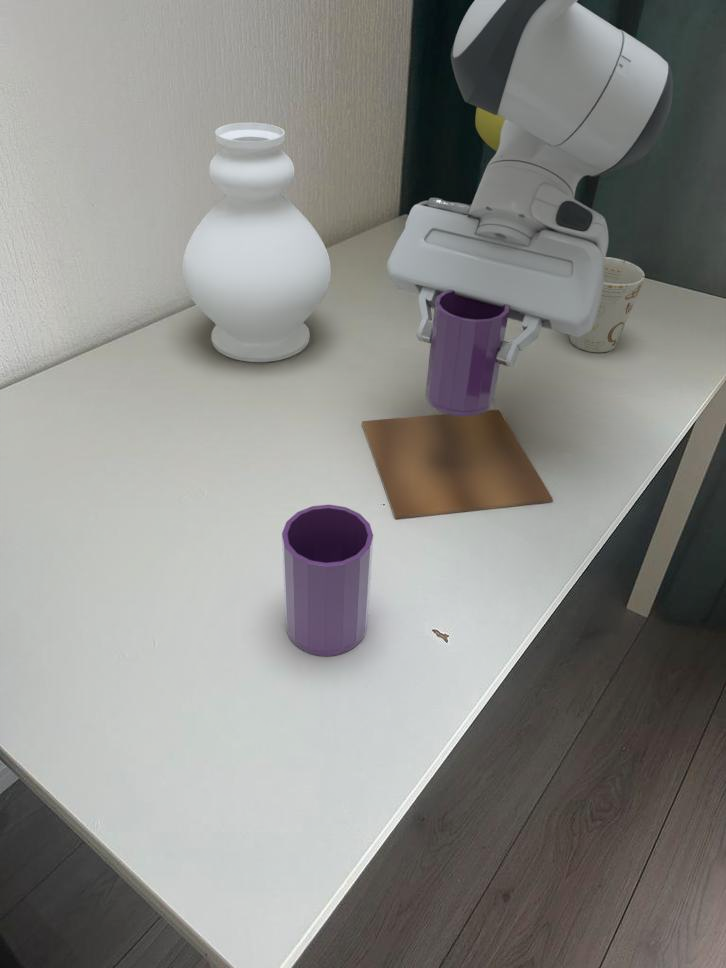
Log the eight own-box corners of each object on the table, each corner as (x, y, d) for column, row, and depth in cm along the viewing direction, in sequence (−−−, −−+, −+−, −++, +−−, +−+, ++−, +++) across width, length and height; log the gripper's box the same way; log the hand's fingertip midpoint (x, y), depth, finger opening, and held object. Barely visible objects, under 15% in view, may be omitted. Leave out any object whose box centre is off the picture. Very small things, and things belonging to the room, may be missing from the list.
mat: (498, 412, 88) (499, 409, 88) (552, 502, 76) (553, 499, 76) (361, 423, 85) (361, 420, 85) (394, 519, 73) (395, 516, 73)
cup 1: (358, 589, 66) (362, 500, 60) (374, 650, 61) (381, 560, 55) (281, 599, 65) (277, 509, 59) (291, 661, 60) (288, 571, 54)
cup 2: (480, 377, 79) (495, 286, 73) (502, 413, 74) (519, 318, 68) (418, 382, 78) (427, 289, 71) (436, 419, 73) (447, 323, 66)
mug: (599, 364, 98) (619, 290, 91) (522, 326, 105) (535, 256, 98) (637, 344, 102) (658, 273, 96) (560, 310, 109) (575, 241, 103)
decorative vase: (224, 298, 108) (208, 104, 92) (346, 318, 105) (351, 120, 89) (166, 359, 95) (135, 144, 79) (303, 384, 91) (300, 165, 75)
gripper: (409, 177, 73) (355, 311, 73) (623, 222, 66) (566, 372, 65) (425, 210, 79) (375, 334, 79) (623, 255, 72) (570, 392, 71)
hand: (463, 352), depth 72 cm, fingers closed on cup 2, 6 cm apart
